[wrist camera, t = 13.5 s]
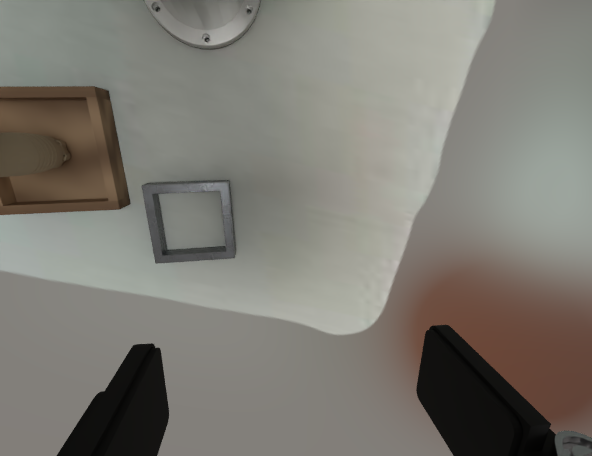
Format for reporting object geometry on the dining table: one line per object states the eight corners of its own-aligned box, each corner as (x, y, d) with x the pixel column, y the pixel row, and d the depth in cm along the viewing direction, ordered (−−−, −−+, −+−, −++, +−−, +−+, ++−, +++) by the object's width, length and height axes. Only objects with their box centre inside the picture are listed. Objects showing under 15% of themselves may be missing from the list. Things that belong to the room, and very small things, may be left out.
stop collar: (147, 183, 36) (141, 185, 34) (229, 179, 37) (228, 182, 36) (160, 257, 39) (155, 263, 37) (235, 252, 40) (234, 258, 38)
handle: (28, 171, 33) (-142, 195, 19) (37, 115, 32) (-141, 96, 18) (74, 185, 34) (-55, 218, 20) (84, 132, 33) (-47, 127, 19)
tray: (-20, 91, 31) (-48, 86, 29) (108, 90, 33) (94, 86, 30) (17, 208, 35) (-5, 215, 32) (130, 203, 37) (119, 209, 34)
